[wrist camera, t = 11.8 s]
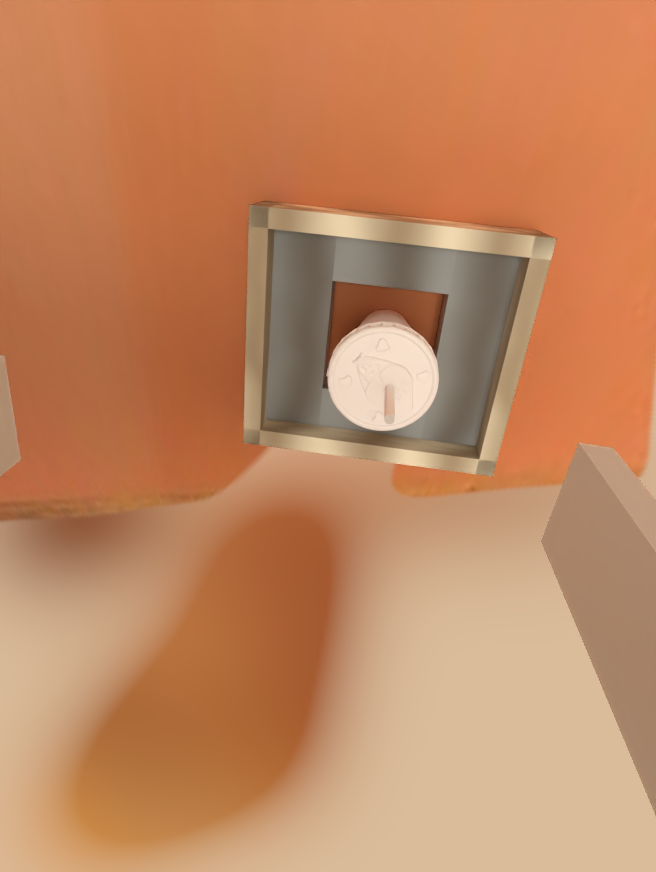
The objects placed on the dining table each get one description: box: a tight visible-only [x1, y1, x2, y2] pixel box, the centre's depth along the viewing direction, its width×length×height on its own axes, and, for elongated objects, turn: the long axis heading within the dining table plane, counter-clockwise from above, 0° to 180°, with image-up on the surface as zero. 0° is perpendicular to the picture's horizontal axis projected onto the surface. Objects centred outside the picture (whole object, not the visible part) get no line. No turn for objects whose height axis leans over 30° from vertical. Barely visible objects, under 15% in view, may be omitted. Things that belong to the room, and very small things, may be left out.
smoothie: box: [328, 309, 439, 431], centre depth 33 cm, size 6×6×14 cm
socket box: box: [243, 201, 557, 476], centre depth 37 cm, size 18×16×4 cm
